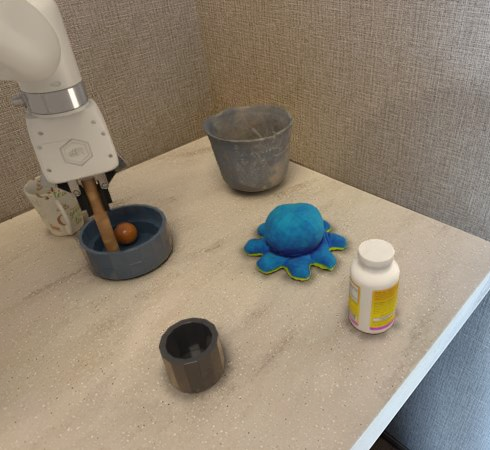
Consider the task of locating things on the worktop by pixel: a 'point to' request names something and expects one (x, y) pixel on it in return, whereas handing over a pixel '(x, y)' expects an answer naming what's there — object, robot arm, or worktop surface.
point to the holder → (192, 355)
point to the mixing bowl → (132, 255)
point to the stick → (100, 214)
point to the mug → (55, 208)
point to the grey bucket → (251, 145)
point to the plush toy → (295, 241)
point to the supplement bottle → (373, 287)
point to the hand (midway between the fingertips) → (98, 209)
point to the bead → (125, 233)
